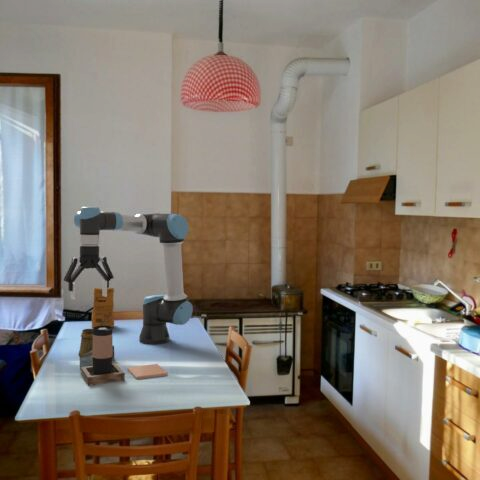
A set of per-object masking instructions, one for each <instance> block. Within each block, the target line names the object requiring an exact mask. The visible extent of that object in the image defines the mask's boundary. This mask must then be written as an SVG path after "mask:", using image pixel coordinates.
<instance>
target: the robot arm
mask: <svg viewBox="0 0 480 480" xmlns="http://www.w3.org/2000/svg"><path fill="white" fill-rule="evenodd" d="M73 223H74V225H75V227H77V228H78V229H79V244H80V246H79V258H78V257H72V258H71V263H70V265H69V267H68V269H67V271H66V273H65V276H64V278H63V281H64V282H66V283H68V292H70V299H71V300H74V301H75V300H76V283H75V281H76V280H77V278H78V277H79V276H80V274H81V273H82V272H83V271H84V270H85V269H87V270H88V269H95V270H96V271H97V272H98V274H100V276H101V277H102V278H103V279H102V286H101V287H102V288H101V289H102V296H104V297H107V289H108V288H110V281H111V280H112V279H114V274H113V272H112V271H111V268H110V265H109V263H108V262H107V261H108V260H107V256H101V257H100V246H99V245H100V233H101V232H100V231H117V232H118V231H119V232H134V233H135V234H136V235H144V236H149V237H154V238H159V244H160V245H162V246H163V247H162V249H163V252H162V253H163V265H164V283H165V294H154V295H147V296H145V297H144V298H143V301H142V302H143V303H142V326H141V327H142V328H141V331H140V334H139V338H138V339H139V340H138V341H139V342H140V343H141V344H146V345H159V344H160V345H161V344H166V343H168V342H170V333H169V330H168V327H167V323H169V324H173V325H175V326H176V325H177V326H178V325H180V326H183V325H185V324H187V323H188V322H189V321H190V320H191V317H192V315H193V311H194V307H193V304H192V303H191V302H190V301H189V300H188V295H187V294H186V293H185V292H184V291H185V290H184V277H183V259H182V257H183V255H182V254H183V253H182V245H183V243H184V242H185V239H186V237H187V235H188V233H189V223H188V221H187V220H186V218H185V217H184V216H183V215H181V214H179V213H178V214H177V213H158V212H157V213H147V214H146V213H143V214H142V213H137V214H136V215H129V214H122V213H119V212H118V211H117V212H116V211H115V212H114V211H100V207H98V206H82V207H81V208H80V211H77V212H76V213H75V215H74V216H73ZM99 263H101V265H102V267H103V268H102V267H101V265H100V264H99ZM77 264H79V265H78V267H77ZM76 267H77V268H76ZM75 269H76V270H75ZM103 269H104V270H103Z"/></svg>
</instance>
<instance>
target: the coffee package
mask: <svg viewBox="0 0 480 480" xmlns="http://www.w3.org/2000/svg"><path fill="white" fill-rule="evenodd" d="M114 293H115V288H114V287H111V288H110V287H109V288H107V297H104V296H102V288H97V287H94V290H93V308H92V311H91V329H93V327H96V326H100V325H101V324H102V323H103V321H104V320H105V319H106V317H107V316H109V318H108V319H107V320H106V322H105V323H104V325H103V326H111V327H112V329H113V328H114V326H115V318H114V305H115V304H114V297H115V296H114Z"/></svg>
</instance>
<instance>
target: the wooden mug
mask: <svg viewBox="0 0 480 480" xmlns="http://www.w3.org/2000/svg"><path fill="white" fill-rule="evenodd" d="M108 318H109V316H107V317H106V319H105V320H104V321H103V323H102V324H101V325H100V326H103V325H104V323H105V322H106V320H107V319H108ZM80 337H81V339H80V345H79V346H80V347H79V351H78V356H79V357H81V356H83V355H84V354H86V353H88V352H89V351H91V350H92V349H93V328H83V329H82V332H81V335H80Z"/></svg>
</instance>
